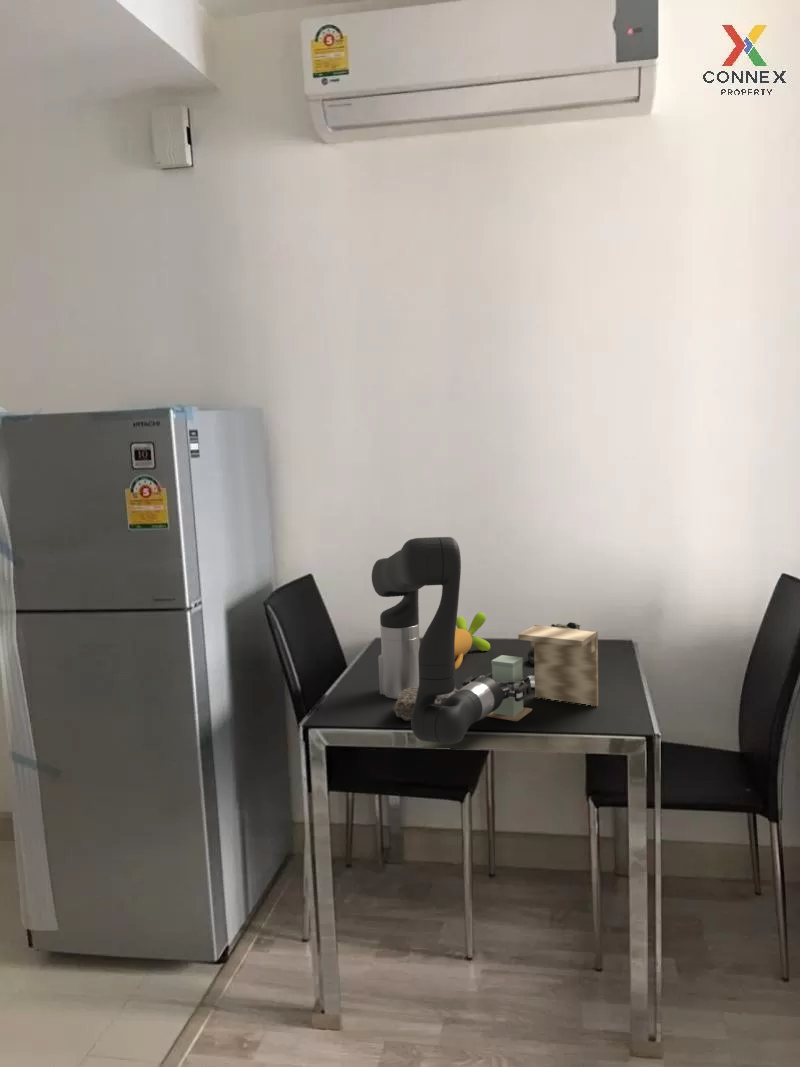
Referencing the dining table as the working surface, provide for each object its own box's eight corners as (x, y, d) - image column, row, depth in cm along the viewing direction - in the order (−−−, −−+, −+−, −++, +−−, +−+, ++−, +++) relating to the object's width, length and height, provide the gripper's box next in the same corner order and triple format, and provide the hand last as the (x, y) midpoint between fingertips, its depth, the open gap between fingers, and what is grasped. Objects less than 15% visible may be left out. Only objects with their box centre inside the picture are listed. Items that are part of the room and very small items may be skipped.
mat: (484, 716, 201) (484, 714, 200) (499, 705, 207) (499, 703, 207) (517, 721, 196) (517, 719, 196) (532, 710, 203) (532, 708, 203)
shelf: (519, 708, 205) (518, 634, 202) (536, 696, 213) (535, 625, 210) (583, 718, 197) (582, 640, 194) (598, 705, 205) (597, 631, 202)
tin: (492, 713, 201) (491, 660, 199) (502, 706, 205) (501, 655, 204) (514, 716, 198) (512, 663, 197) (523, 709, 202) (522, 657, 201)
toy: (429, 705, 234) (482, 662, 259) (453, 667, 227) (505, 626, 251) (392, 674, 238) (448, 634, 262) (414, 636, 231) (469, 598, 255)
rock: (464, 707, 208) (400, 707, 211) (463, 680, 207) (398, 680, 210) (457, 724, 195) (389, 724, 198) (455, 695, 195) (387, 696, 198)
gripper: (508, 686, 184) (539, 666, 198) (446, 678, 192) (481, 659, 205) (509, 722, 185) (540, 699, 199) (447, 712, 193) (482, 691, 206)
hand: (510, 679), depth 202 cm, fingers open, 8 cm apart
